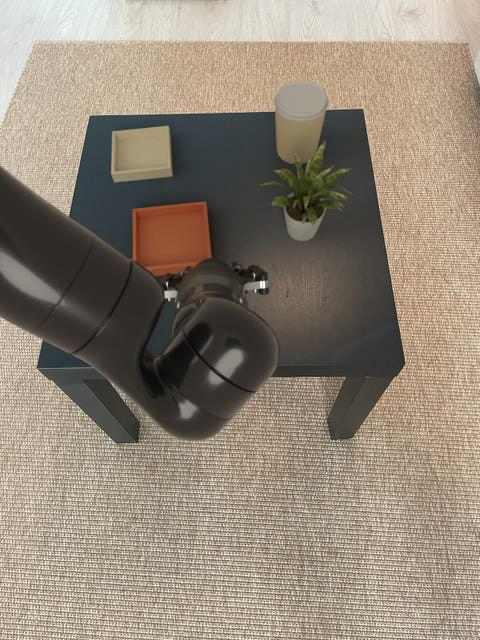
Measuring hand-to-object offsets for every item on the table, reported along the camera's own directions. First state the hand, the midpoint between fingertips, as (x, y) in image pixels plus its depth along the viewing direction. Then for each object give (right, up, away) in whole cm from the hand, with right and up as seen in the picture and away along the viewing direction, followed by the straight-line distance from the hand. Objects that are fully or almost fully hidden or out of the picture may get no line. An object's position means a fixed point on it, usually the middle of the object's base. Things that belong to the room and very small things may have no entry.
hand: (211, 271), depth 66 cm
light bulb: (0, -4, +5) cm, 7 cm away
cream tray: (-15, +25, +28) cm, 41 cm away
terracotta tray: (-8, +7, +19) cm, 22 cm away
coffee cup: (+15, +26, +28) cm, 41 cm away
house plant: (+14, +8, +19) cm, 25 cm away
